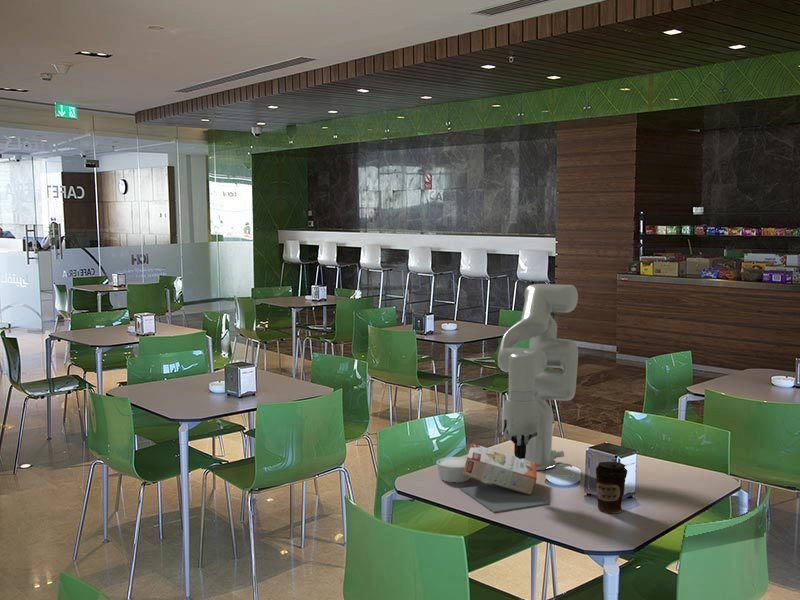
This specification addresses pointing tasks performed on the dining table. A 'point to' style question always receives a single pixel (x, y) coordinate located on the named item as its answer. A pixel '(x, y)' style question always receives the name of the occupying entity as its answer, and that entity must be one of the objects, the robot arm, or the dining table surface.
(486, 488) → the rubber mat
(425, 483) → the dining table surface
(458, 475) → the ramekin
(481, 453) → the cracker box
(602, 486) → the coffee cup
